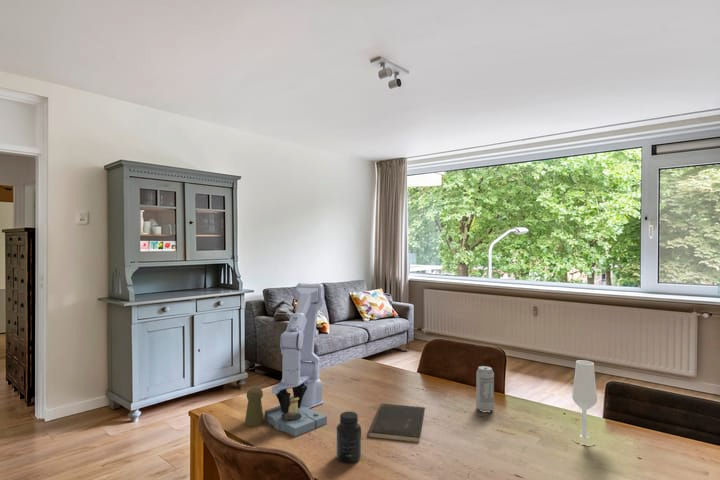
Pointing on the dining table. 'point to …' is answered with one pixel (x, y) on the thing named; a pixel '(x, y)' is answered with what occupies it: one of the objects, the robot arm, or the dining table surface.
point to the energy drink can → (485, 388)
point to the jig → (302, 424)
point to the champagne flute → (584, 389)
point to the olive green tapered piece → (254, 408)
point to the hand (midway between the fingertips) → (290, 410)
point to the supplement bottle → (348, 438)
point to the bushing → (292, 407)
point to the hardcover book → (397, 422)
